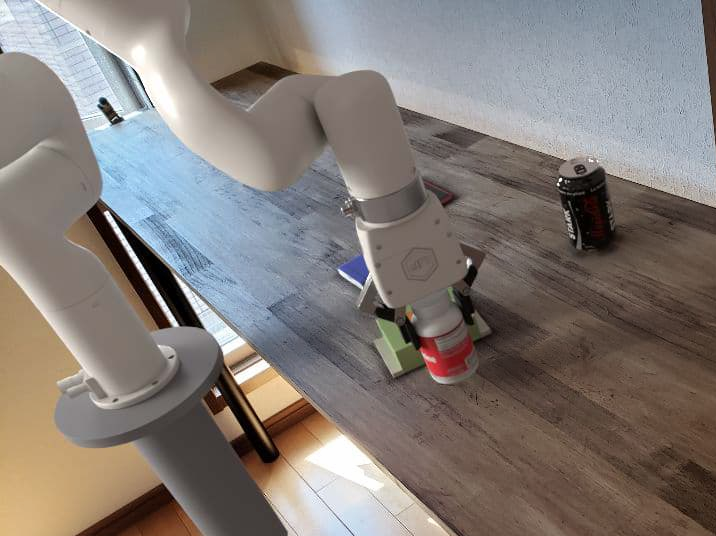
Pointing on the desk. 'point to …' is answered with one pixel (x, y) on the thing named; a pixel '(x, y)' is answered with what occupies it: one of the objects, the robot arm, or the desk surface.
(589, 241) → the beverage can
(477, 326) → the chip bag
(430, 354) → the pill bottle
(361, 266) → the hard drive
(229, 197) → the desk surface
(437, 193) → the smartphone
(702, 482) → the desk surface
